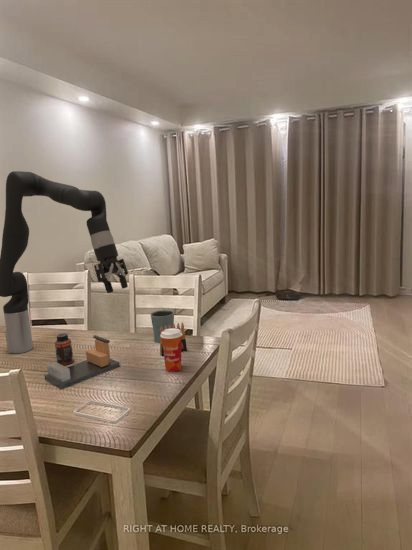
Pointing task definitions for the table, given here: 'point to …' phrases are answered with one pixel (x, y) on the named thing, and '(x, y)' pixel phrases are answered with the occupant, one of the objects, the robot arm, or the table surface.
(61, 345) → the supplement bottle
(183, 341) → the ammunition clip
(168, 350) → the paper cup
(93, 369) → the base
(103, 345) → the sliding jaw
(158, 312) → the green embossed pot
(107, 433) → the table surface
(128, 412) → the phone case
